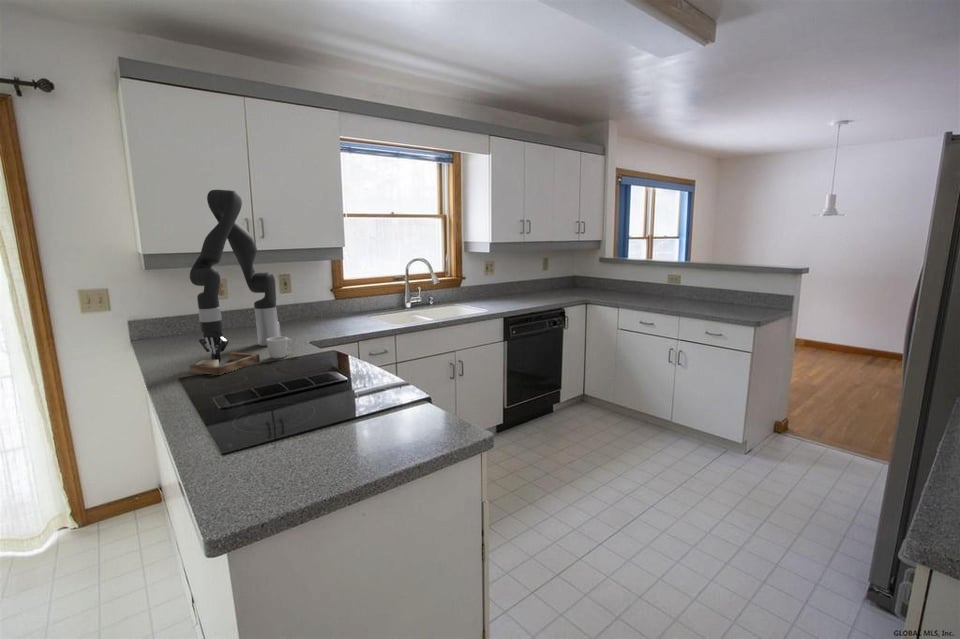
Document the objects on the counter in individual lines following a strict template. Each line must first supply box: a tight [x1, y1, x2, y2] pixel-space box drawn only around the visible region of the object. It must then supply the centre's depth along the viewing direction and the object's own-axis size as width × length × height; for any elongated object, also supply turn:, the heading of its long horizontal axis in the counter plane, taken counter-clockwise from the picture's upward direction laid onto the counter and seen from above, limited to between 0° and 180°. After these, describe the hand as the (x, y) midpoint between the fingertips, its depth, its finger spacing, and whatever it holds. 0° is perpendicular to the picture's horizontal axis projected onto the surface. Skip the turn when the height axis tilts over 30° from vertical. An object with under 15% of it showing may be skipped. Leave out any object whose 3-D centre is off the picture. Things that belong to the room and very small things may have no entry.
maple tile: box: [195, 359, 220, 367], centre depth 185 cm, size 6×6×3 cm
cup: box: [266, 335, 293, 359], centre depth 202 cm, size 11×8×8 cm
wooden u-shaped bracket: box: [189, 351, 261, 376], centre depth 188 cm, size 20×14×3 cm
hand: (216, 362), depth 190 cm, fingers closed
